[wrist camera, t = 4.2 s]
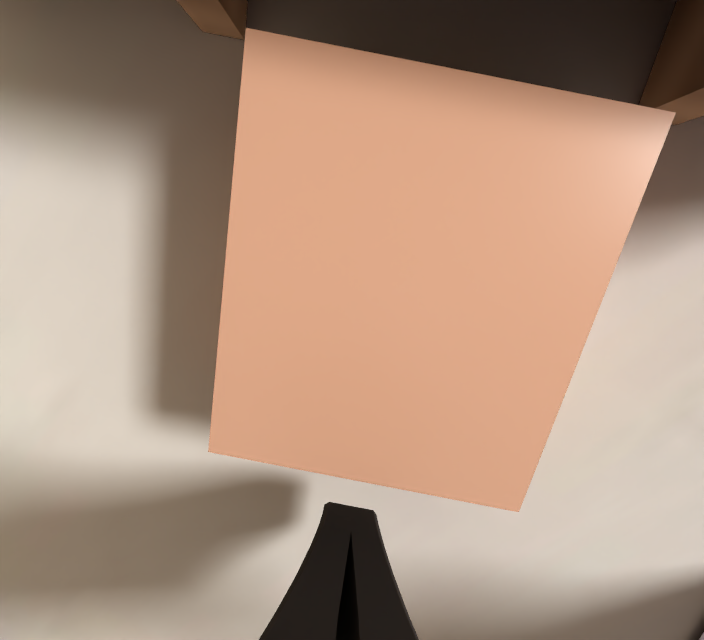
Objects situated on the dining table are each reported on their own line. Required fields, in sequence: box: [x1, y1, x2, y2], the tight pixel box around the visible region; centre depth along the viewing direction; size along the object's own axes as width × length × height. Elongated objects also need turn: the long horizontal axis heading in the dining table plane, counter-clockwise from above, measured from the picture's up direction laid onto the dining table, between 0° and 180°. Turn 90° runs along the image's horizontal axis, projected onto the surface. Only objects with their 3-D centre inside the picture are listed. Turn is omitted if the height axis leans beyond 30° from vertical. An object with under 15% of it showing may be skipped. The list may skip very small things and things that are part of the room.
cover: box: [208, 28, 676, 512], centre depth 8 cm, size 8×7×3 cm
